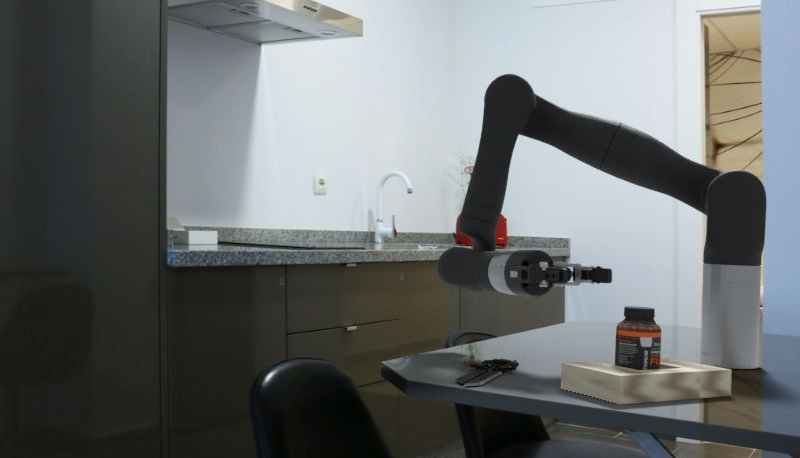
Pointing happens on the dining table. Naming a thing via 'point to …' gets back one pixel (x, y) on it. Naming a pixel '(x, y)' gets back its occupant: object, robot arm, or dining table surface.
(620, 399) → the slot dock
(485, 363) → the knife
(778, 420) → the dining table surface
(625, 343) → the supplement bottle
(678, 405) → the dining table surface
